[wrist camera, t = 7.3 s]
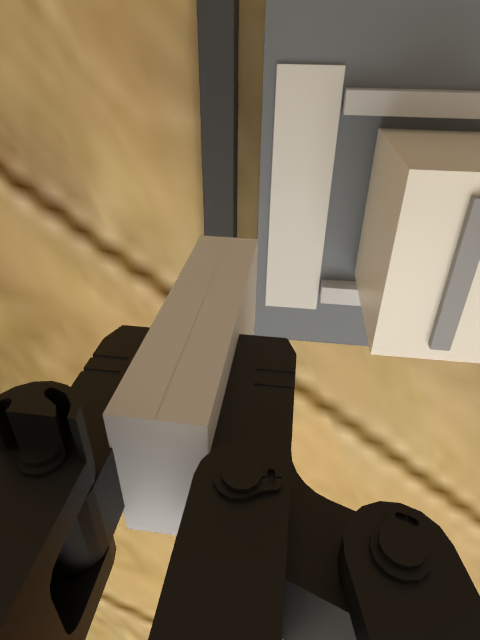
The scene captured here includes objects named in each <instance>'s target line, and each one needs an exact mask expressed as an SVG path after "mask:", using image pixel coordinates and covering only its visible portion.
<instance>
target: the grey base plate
mask: <svg viewBox="0 0 480 640" xmlns="http://www.w3.org/2000/svg"><path fill="white" fill-rule="evenodd" d="M197 23H198V53H199V84H200V114H201V144H202V174H203V205H204V235H205V236H217V237H233V238H237V151H238V29H239V0H197Z"/></svg>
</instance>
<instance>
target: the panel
mask: <svg viewBox="0 0 480 640" xmlns="http://www.w3.org/2000/svg"><path fill="white" fill-rule="evenodd" d="M378 128H387V129H417V130H446V131H476V132H480V0H266V6H265V34H264V63H263V92H262V121H261V150H260V179H259V208H258V237H257V239H258V251H257V279H256V308H255V329H254V335H257V336H269V337H280V338H287V339H288V340H298V341H311V342H323V343H336V344H348V345H360V346H369V344H368V339H367V334H366V329H365V324H364V319H363V314H362V309H361V304H360V299H359V294H358V289H357V284H356V279H355V274H354V273H355V267H356V261H357V255H358V249H359V243H360V237H361V231H362V225H363V219H364V212H365V206H366V200H367V194H368V188H369V182H370V176H371V170H372V164H373V158H374V152H375V146H376V140H377V134H378Z"/></svg>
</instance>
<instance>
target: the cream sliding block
mask: <svg viewBox="0 0 480 640" xmlns="http://www.w3.org/2000/svg"><path fill="white" fill-rule="evenodd" d="M354 274H355V279H356V284H357V289H358V294H359V299H360V304H361V309H362V314H363V319H364V324H365V329H366V334H367V339H368V344H369V349H370V354H372V355H385V356H397V357H409V358H421V359H433V360H445V361H458V362H470V363H480V132H476V131H446V130H417V129H387V128H378V134H377V140H376V146H375V152H374V158H373V164H372V170H371V176H370V182H369V188H368V194H367V200H366V206H365V212H364V219H363V225H362V231H361V237H360V243H359V249H358V255H357V261H356V267H355V273H354Z"/></svg>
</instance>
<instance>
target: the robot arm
mask: <svg viewBox="0 0 480 640" xmlns="http://www.w3.org/2000/svg"><path fill="white" fill-rule="evenodd" d="M257 251H258V239H248V238H233V237H217V236H202V235H201V236H200V238H199V240H198V242H197V244H196V245H195V247H194V249H193V251H192V253H191V254H190V256H189V258H188V260H187V262H186V264H185V265H184V267H183V269H182V271H181V273H180V274H179V276H178V278H177V280H176V282H175V284H174V285H173V287H172V289H171V291H170V293H169V294H168V296H167V298H166V300H165V302H164V304H163V305H162V307H161V309H160V311H159V313H158V314H157V316H156V318H155V320H154V322H153V324H152V325H151V327H150V328H149V327H137V326H126V325H122V326H121V327H119V328H118V329H116V330H115V331H114V332H112V333H111V334H109V335H108V336H106V337H105V338H104V339H103V340H102V342H101V343H100V345H99V346H98V348H97V349H96V351H95V352H94V353H93V358H90V359H89V361H88V362H87V364H86V365H85V367H84V371H81V373H80V374H79V375H78V377H77V378H76V380H75V381H74V383H73V384H72V386H71V387H69V386H68V385H65V384H61V383H58V382H54V381H41V382H31V383H27V384H24V385H20V386H16V387H14V388H12V389H10V390H8V391H6V392H4V393H2V394H0V640H85V639H86V636H87V633H88V630H89V628H90V625H91V622H92V620H93V617H94V614H95V612H96V609H97V606H98V604H99V601H100V598H101V596H102V593H103V590H104V588H105V585H106V582H107V580H108V577H109V574H110V572H111V569H112V566H113V564H114V558H115V553H116V545H115V541H114V537H113V535H114V532H115V530H116V527H117V524H118V522H119V519H120V517H121V514H122V512H124V516H125V521H126V526H127V528H128V529H135V530H142V531H149V532H156V533H163V534H170V535H177V537H176V540H175V544H174V548H173V551H172V555H171V558H170V562H169V566H168V569H167V573H166V577H165V580H164V584H163V588H162V591H161V595H160V598H159V602H158V606H157V609H156V613H155V617H154V620H153V624H152V628H151V631H150V635H149V638H148V640H282V639H283V640H480V596H479V594H478V592H477V590H476V588H475V586H474V584H473V582H472V580H471V578H470V576H469V574H468V572H467V570H466V568H465V567H464V565H463V563H462V561H461V559H460V557H459V555H458V553H457V551H456V549H455V547H454V545H453V544H452V543H451V541H450V540H449V538H448V537H447V536H446V534H445V533H444V532H443V530H442V529H441V527H440V526H439V525H437V524H436V523H435V522H434V521H432V520H431V519H430V518H428V517H427V516H426V515H425V514H423V513H422V512H421V511H418V510H416V509H413V508H411V507H409V506H406V505H404V504H401V503H394V502H383V501H379V502H375V503H372V504H368V505H365V506H362V507H361V508H360V509H358V510H357V511H354V510H351V509H349V508H347V507H344V506H342V505H340V504H337V503H335V502H333V501H331V500H328V499H327V498H325V497H323V496H321V495H319V494H318V493H316V492H315V491H313V490H312V489H311V488H310V487H309V486H308V485H306V484H305V483H304V481H303V480H302V479H301V477H300V476H299V475H298V473H297V472H296V469H295V467H294V464H293V462H292V455H291V442H292V424H293V406H294V388H295V370H296V353H295V351H294V349H293V348H292V346H291V344H290V342H289V341H288V339H287V338H280V337H269V336H257V335H253V334H254V329H255V308H256V279H257Z"/></svg>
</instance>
